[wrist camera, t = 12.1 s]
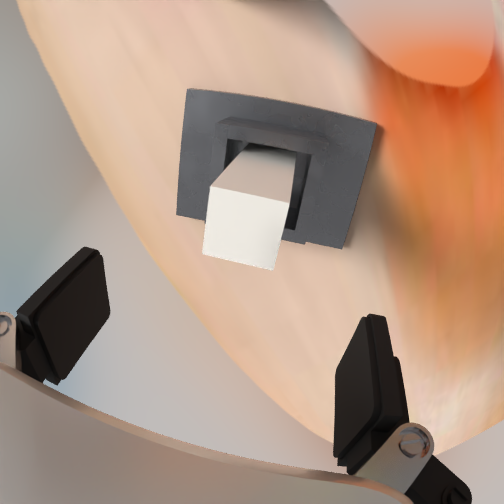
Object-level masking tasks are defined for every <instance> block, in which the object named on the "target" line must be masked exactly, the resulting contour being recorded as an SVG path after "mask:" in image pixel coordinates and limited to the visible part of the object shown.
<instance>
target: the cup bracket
mask: <svg viewBox="0 0 504 504" xmlns="http://www.w3.org/2000/svg"><path fill="white" fill-rule="evenodd" d="M376 126H377V123H375V122H372V121H368V120H365V119H361V118H357V117H353V116H350V115H346V114H342V113H338V112H334V111H329V110H325V109H321V108H316V107H312V106H307V105H302V104H297V103H292V102H287V101H281V100H276V99H270V98H264V97H258V96H251V95H244V94H237V93H229V92H221V91H212V90H203V89H192V88H190V89H187V93H186V102H185V111H184V121H183V131H182V141H181V153H180V165H179V179H178V194H177V212H176V215H179V216H184V217H189V218H194V219H200V220H205V224H206V217H207V208H208V200H209V193H210V186H211V185H212V184H213V183H214V181H215V180H216V179H217V178H218V177H219V176H220V175H221V173H222V172H223V171H224V170H225V169H226V168H227V167H228V166H229V165H230V163H231V162H232V161H233V160H234V159H235V158H236V157H237V156H238V155H239V154H240V152H241V151H242V150H243V149H244V148H245V147H246V146H247V145H248V144H249V143H254V144H259V145H264V146H269V147H273V148H278V149H282V150H287V151H291V152H296V161H295V169H294V176H293V184H292V191H291V198H290V204H289V209H288V213H287V217H286V221H285V225H284V229H283V233H282V237H281V240H286V241H290V242H295V243H300V244H305V242H311V243H315V244H320V245H324V246H329V247H334V248H338V249H342V248H343V245H344V242H345V238H346V235H347V232H348V229H349V225H350V222H351V219H352V216H353V212H354V209H355V205H356V202H357V199H358V195H359V192H360V188H361V184H362V181H363V177H364V173H365V170H366V166H367V162H368V158H369V154H370V151H371V147H372V143H373V139H374V135H375V130H376Z"/></svg>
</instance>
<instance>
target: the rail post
mask: <svg viewBox="0 0 504 504" xmlns="http://www.w3.org/2000/svg"><path fill="white" fill-rule="evenodd" d="M295 161H296V152H291V151H287V150H282V149H278V148H273V147H269V146H264V145H259V144H254V143H249V144H248V145H247V146H246V147H245V148H244V149H243V150H242V151H241V152H240V154H239V155H238V156H237V157H236V158H235V159H234V160H233V161H232V162H231V163H230V165H229V166H228V167H227V168H226V169H225V170H224V171H223V172H222V173H221V175H220V176H219V177H218V178H217V179H216V180H215V181H214V183H213V184H212V185H211V186H210V193H209V200H208V208H207V217H206V225H205V233H204V242H203V251H202V254H204V255H209V256H213V257H217V258H221V259H225V260H230V261H234V262H238V263H242V264H247V265H251V266H255V267H259V268H264V269H268V270H272V271H273V269H274V265H275V261H276V257H277V253H278V249H279V245H280V241H281V237H282V233H283V229H284V225H285V221H286V217H287V213H288V209H289V204H290V198H291V191H292V184H293V176H294V169H295Z"/></svg>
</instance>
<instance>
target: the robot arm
mask: <svg viewBox="0 0 504 504" xmlns="http://www.w3.org/2000/svg"><path fill="white" fill-rule="evenodd" d="M17 314H18V315H17V316H16V317H15V318H14V316H13V315H12V314H10V313H7V312H0V504H471V502H472V495H471V492H470V489H469V488H468V486H467V485H466V484H465V483H464V482H463V481H462V480H460V479H459V478H458V477H457V476H456V475H455V474H454V473H453V472H451V471H450V470H449V469H448V468H447V467H446V466H445V465H444V464H442V463H441V462H440V461H439V460H438V459H437V458H436V457H435V456H434V455H432V453H433V451H434V441H433V438H432V436H431V434H430V432H429V431H428V430H427V429H426V428H425V427H423V426H421V425H420V424H416V423H409V415H408V408H407V401H406V395H405V389H404V383H403V377H402V372H401V366H400V362H399V359H398V358H397V357H394V356H393V351H392V345H391V340H390V335H389V330H388V325H387V321H386V317H384V316H380V315H375V314H368V315H367V317H362V318H361V320H360V322H359V324H358V326H357V329H356V331H355V333H354V335H353V337H352V339H351V341H350V343H349V345H348V347H347V349H346V351H345V353H344V355H343V357H342V359H341V361H340V363H339V365H338V367H337V369H336V374H335V421H334V447H333V456H334V457H335V458H338V463H337V464H338V465H337V466H346V467H347V473H348V474H349V475H347V474H340V473H333V472H327V471H320V470H312V469H305V468H298V467H292V466H286V465H280V464H275V463H269V462H264V461H258V460H254V459H249V458H244V457H240V456H235V455H231V454H227V453H223V452H219V451H215V450H211V449H207V448H204V447H200V446H196V445H193V444H190V443H186V442H182V441H180V440H176V439H173V438H170V437H167V436H164V435H161V434H158V433H155V432H152V431H149V430H146V429H144V428H141V427H138V426H136V425H133V424H130V423H128V422H125V421H123V420H120V419H118V418H115V417H113V416H110V415H108V414H105V413H103V412H101V411H98V410H96V409H94V408H91V407H89V406H87V405H85V404H83V403H81V402H79V401H76V400H74V399H72V398H70V397H68V396H66V395H64V394H62V393H60V392H58V391H56V390H54V389H52V388H50V387H48V386H46V385H44V384H43V381H44V380H45V378H46V380H48V381H49V382H51V383H53V384H55V385H58V384H59V382H60V381H61V379H62V380H63V379H65V378H66V377H67V376H68V374H69V373H70V371H71V370H72V368H73V367H74V366H75V364H76V362H77V361H78V360H79V358H80V357H81V356H82V354H83V353H84V351H85V350H86V348H87V347H88V345H89V344H90V343H91V341H92V340H93V339H94V337H95V336H96V335H97V333H98V332H99V330H100V329H101V327H102V326H103V325H104V324H105V322H106V320H107V319H108V318H109V315H110V306H109V299H108V292H107V285H106V278H105V271H104V263H103V257H102V255H100V252H99V251H98V250H95V249H92V248H88V247H83V248H82V249H81V250H80V251H78V252H77V253H76V254H75V255H74V256H73V257H72V258H70V259H69V260H68V261H67V262H66V263H65V264H64V265H63V266H62V267H61V268H60V269H59V270H57V272H55V273H54V274H53V275H52V276H51V277H50V278H49V279H48V280H47V281H46V282H45V283H44V284H43V285H42V286H41V287H40V288H39V289H38V290H37V291H36V292H35V293H34V294H33V295H32V296H31V297H30V298H29V299H28V300H27V301H26V302H25V303H24V304H23V305H22V306H21V307H20V308H19V309H18V310H17Z"/></svg>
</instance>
